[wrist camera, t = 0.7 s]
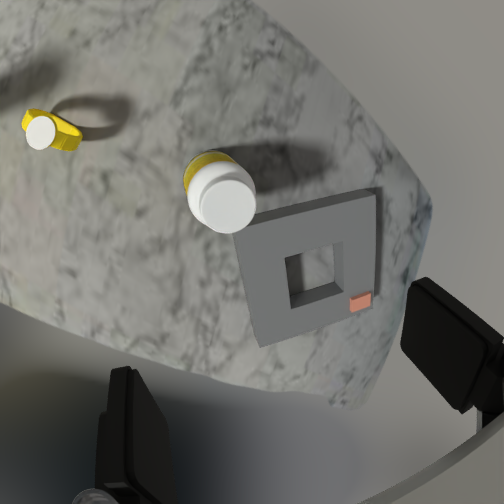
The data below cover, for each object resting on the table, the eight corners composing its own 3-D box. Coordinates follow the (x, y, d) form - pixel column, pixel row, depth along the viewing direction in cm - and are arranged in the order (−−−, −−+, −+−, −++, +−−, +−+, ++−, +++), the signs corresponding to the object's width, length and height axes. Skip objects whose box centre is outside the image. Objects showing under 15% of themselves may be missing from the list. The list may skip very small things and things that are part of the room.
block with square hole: (229, 220, 33) (236, 231, 31) (363, 188, 36) (378, 196, 33) (254, 335, 41) (261, 351, 38) (363, 298, 43) (374, 310, 41)
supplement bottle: (171, 180, 30) (174, 212, 21) (208, 138, 29) (227, 152, 21) (212, 213, 33) (231, 256, 24) (248, 174, 32) (281, 202, 23)
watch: (91, 127, 26) (79, 134, 21) (77, 152, 27) (63, 165, 22) (43, 100, 23) (21, 102, 18) (30, 126, 23) (7, 134, 18)
